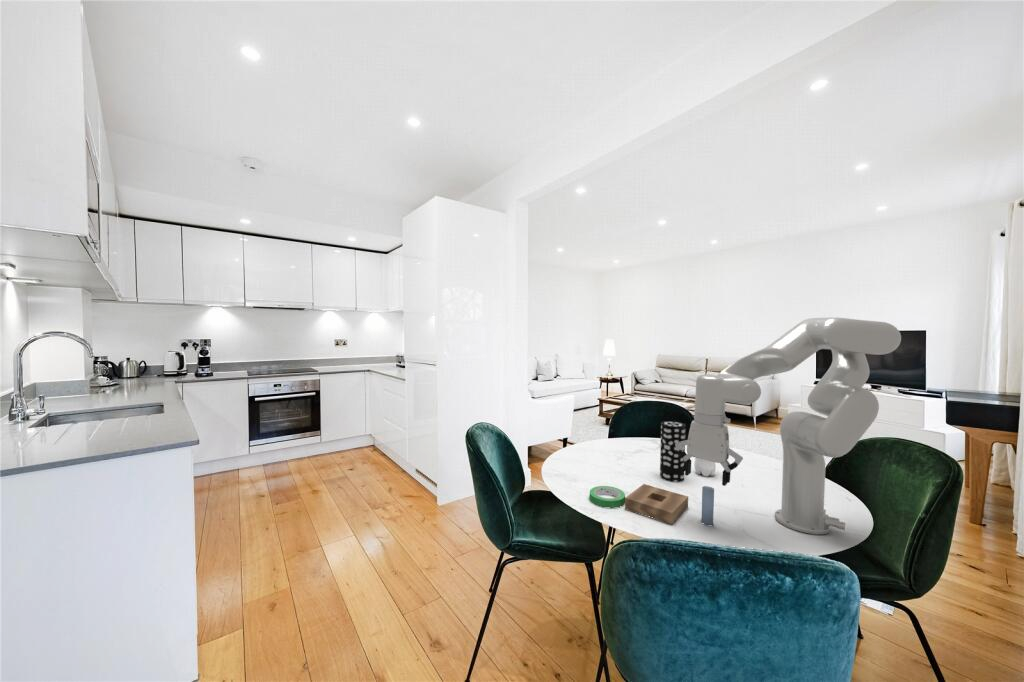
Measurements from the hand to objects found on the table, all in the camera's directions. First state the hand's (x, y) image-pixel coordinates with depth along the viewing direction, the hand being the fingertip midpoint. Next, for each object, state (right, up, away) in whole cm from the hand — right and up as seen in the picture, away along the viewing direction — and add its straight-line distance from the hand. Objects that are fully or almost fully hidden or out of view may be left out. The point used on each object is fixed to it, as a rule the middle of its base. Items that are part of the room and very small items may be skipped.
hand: (705, 479), depth 107 cm
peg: (+1, -13, 0) cm, 13 cm away
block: (-10, -12, +9) cm, 18 cm away
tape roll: (-24, -13, +15) cm, 31 cm away
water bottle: (+18, -12, +37) cm, 43 cm away
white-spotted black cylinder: (+4, -12, +33) cm, 35 cm away
